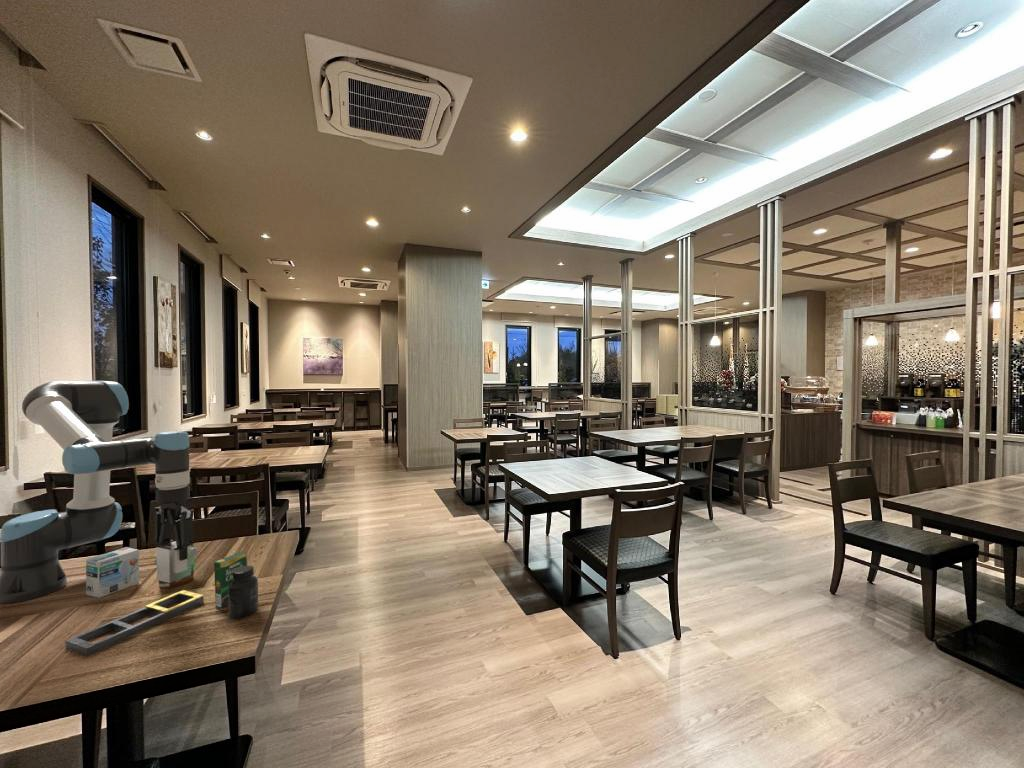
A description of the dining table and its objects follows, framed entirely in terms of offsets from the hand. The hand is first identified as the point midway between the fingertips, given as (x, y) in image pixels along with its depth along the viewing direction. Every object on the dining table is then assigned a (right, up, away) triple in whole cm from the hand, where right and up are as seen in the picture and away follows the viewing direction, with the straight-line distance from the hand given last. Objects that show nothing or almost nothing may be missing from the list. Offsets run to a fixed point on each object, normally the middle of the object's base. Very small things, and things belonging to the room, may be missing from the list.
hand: (174, 569), depth 120 cm
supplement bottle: (+21, -11, -3) cm, 24 cm away
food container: (-10, -11, +16) cm, 22 cm away
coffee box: (+14, -11, +3) cm, 18 cm away
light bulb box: (-28, -12, +12) cm, 33 cm away
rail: (-3, -11, -7) cm, 13 cm away
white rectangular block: (0, -2, 0) cm, 2 cm away
